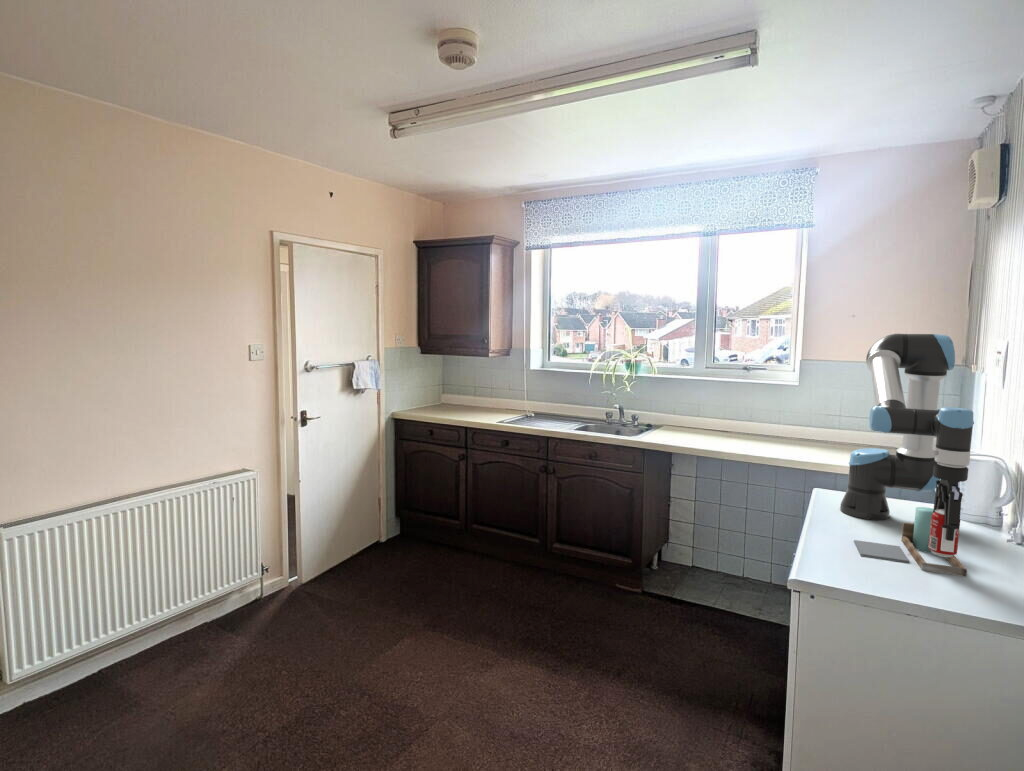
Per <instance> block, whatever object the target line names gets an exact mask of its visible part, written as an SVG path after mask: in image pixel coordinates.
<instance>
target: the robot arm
mask: <svg viewBox="0 0 1024 771" xmlns="http://www.w3.org/2000/svg"><path fill="white" fill-rule="evenodd" d="M865 363H866V366H867V368H868V370H869V371H870V372H871V378H872V379H871V380H872V386H873V392H874V402H875V406H871V408H870V410H869V416H868V417H869V418H868V419H869V420H868V421H869V422H868V424H869V428H870V430H872V431H873V432H880V433H884V434H900V435H901V434H902V435H903V437H902V445H901V446H899V447H898V448H897V449H896V453H895V454H890V452H889V450H888V449H884V448H874V447H873V448H870V447H868V448H867V447H866V448H858V449H855V450H853V451H852V452H851V453H850V456H849V462H848V465H849V466H848V477H847V479H848V480H847V489H846V491H845V494H844V496H843V498H842V500H841V503H840V506H839V507H840V508H839V510H840V511H841V512H842V513H843V514H846V515H848V516H851V517H854V518H855V517H856V518H860V519H866V520H875V521H881V520H883V521H884V520H887V519H890V513H891V512H890V507H889V504H888V500H887V498H886V497H887V496H886V491H887V490H886V489H887V488H889V489H890V488H891V489H898V490H906V491H907V490H908V491H916V492H928V493H930V492H933V491H935V494H934V503H933V508H932V509H933V513H934V512H935V510H936V509H944V525H941V527H942V528H943V529H942V540H941V551H947V552H954V542H955V532H956V529H959V530H960V528H961V526H960V525H961V509H962V499H963V492H961V488H960V487H959V483H962V482H963V483H964V482H967V481H968V476H969V468H968V467H967V466H970V459H971V445H972V436H973V427H974V424H975V422H974V411H973V410H971V409H970V408H964V407H954V406H944V407H941V408H939V409H938V404H939V393H940V386H941V384H940V383H941V380H943V379H944V378H946V377H947V373H948V371H952V370H953V369H954V368H955V364H956V351H955V345H954V342H953V340H952V338H951V337H950V336H949V335H946V334H938V333H937V334H936V333H893V334H888V335H885V336H883V337H881V338H880V339H878V340H877V341H875V342H874V343H873V345H871V346H870V348H869V350H868V351H867V354H866V362H865ZM899 369H904V375H905V376H906V377H908V385H907V386H908V388H907V396H906V397H907V398H906V402H905V395H904V390H903V386H902V385H903V384H902V380H901V374H900V370H899ZM934 437H936V438H935V440H936V442H935V450H934V449H933V448H934V447H933V446H934Z"/></svg>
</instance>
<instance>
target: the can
mask: <svg viewBox="0 0 1024 771" xmlns="http://www.w3.org/2000/svg"><path fill="white" fill-rule="evenodd" d="M933 509H934V508H931V507H925V506H918V507H915V513H914V523H913V524H914V533H913V543H912V544H913V546H914V547H915V548H916V550H917V551H920V552H925V553H932V552H931V550H930V549H929V548H928V546H929V536H930V527H931V517H932V514H933Z"/></svg>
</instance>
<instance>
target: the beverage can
mask: <svg viewBox="0 0 1024 771" xmlns="http://www.w3.org/2000/svg"><path fill="white" fill-rule="evenodd" d="M941 525H944V509H936V510H935V512H934V513H933V514H932V517H931V527H930V536H929V546H928V548H929V549H930V550H931V552H930V553H932V554H933V555H935V556H939V557H944V558H946V557H952V556H955V555H957V553H958V546H959V537H960V536H959V535H960V528H959V529H956V532H955V542H954V552H947V551H941V540H942V529H943V528H942V527H941Z"/></svg>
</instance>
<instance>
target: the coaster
mask: <svg viewBox="0 0 1024 771" xmlns="http://www.w3.org/2000/svg"><path fill="white" fill-rule="evenodd" d="M853 543H854V545H855V547H856V549H857V551H858V554H859V555H860V556H861V557H867V558H873V559H881V560H887V561H892V562H893V561H895V562H900V563H906V564H907V563H908V564H909V563H910V559H909V558H908V556H907V555H906V554H905V552H904V551H903V549H902V548H901V547H900V545H893V544H886V543H878V542H871V541H865V540H864V541H863V540H857V539H854V540H853Z"/></svg>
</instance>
